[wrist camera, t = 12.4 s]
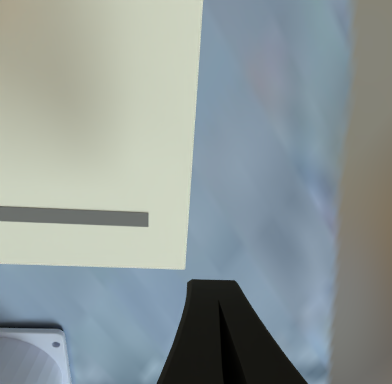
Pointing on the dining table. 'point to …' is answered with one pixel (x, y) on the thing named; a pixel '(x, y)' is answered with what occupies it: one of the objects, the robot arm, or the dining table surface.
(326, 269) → the dining table surface
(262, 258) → the dining table surface
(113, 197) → the board
